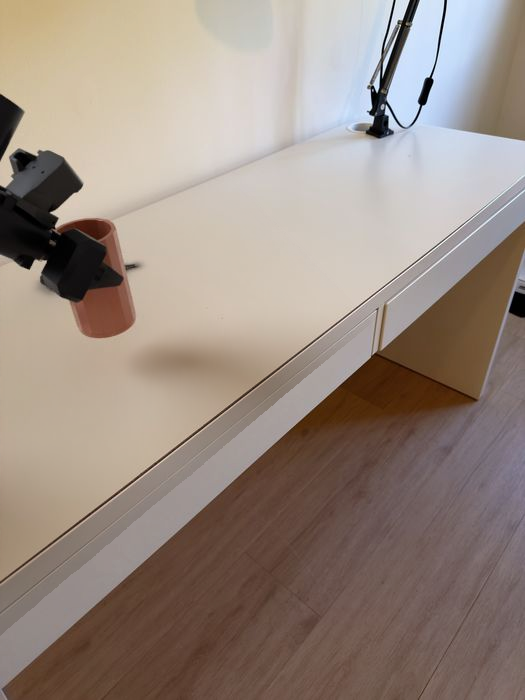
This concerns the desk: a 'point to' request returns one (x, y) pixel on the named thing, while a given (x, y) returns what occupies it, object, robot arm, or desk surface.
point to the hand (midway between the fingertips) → (105, 270)
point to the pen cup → (104, 303)
